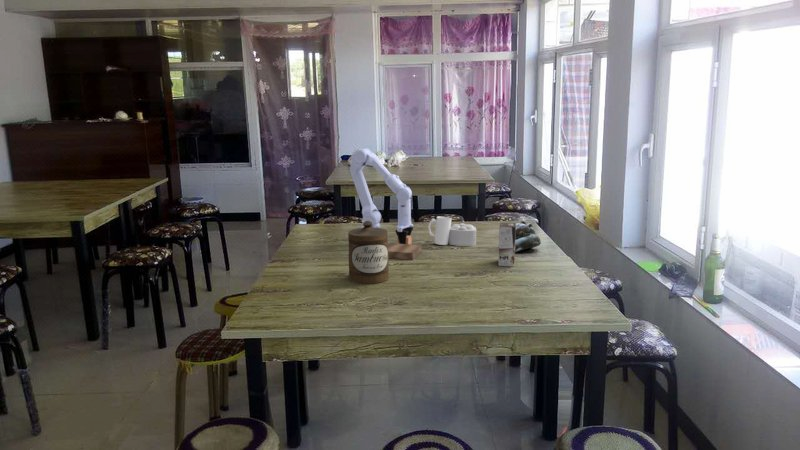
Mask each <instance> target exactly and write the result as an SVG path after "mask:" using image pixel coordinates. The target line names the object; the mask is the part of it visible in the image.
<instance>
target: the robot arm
mask: <svg viewBox="0 0 800 450" xmlns="http://www.w3.org/2000/svg"><path fill="white" fill-rule="evenodd" d="M350 158H351V161H350V166H349V171H350V176H351V178H352V180H353V184H354V186H355V189H356V190H355V191H356V193H357V196H358V198H359V202H360V205H361V207H362V209H361V214H362V224H363V223H364V222H365V221H370V222H372V227H374V228H381V224H380V221H382V214H381V212H380V211H379V210H378V208H377V206H376V205H375V203H374V201H373V199H372V196H371V193H370V190H369V186H368V184H367V181H366V178H365V175H364V172H363V170H364V168H365V167H366V166H370V167H373V168H374V170H376V171H377V172H378V173H379V174H380V175H381V176H382V177H383V178H384V181H385V185H387V187H388V188H389V189H390V190H391V191H392V192H393V193H394V194H395V198H396V200H397V219H398V220H397V228H396V229H395V233H396V235H397V237H398V238H397V240H398V239H399V243H400V244H406V237H407V235H409V236H412V231H413V229H414V224H413V223H412V215H411V214H412V204H411V203H412V202H411V200H412V199H411V198H412V196H413V191H412V190H411V188H410V186H407V184H406V183H403V181H401V179H400V176H399V175H396V173H395V174H394V173H391V172H390V171H389V170H388V169H387V167H386V166H385V165H384V164H383V162H382V161H381V160H380V159H379V158H378V157H377V154H375V153H374V152H372V150H371V149H370V148H368V147H363V148H360V149H356V150H355V151H354V152H353V154H352V155H351V157H350ZM363 227H364V226H363V225H360V226H359V228H363Z"/></svg>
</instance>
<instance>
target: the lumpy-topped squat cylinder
mask: <svg viewBox="0 0 800 450" xmlns="http://www.w3.org/2000/svg"><path fill="white" fill-rule="evenodd" d="M448 245H451V246H456V247H475V246H477V227H476V226H473V224H469V223H468V224H465V223H463V222H461V223H459V224H458V223H454V224H453V225H452V224H451V227H450V233H449V239H448Z"/></svg>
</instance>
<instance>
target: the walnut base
mask: <svg viewBox="0 0 800 450" xmlns="http://www.w3.org/2000/svg"><path fill="white" fill-rule="evenodd" d="M422 253H423V245H422V244H421V245H419V244H412V245H410V244H398V243H393V242H391V243H390V244H388V259H396V260H408V261H414V260H415V259H416V258H417V257H418V256H419V255H421V254H422Z"/></svg>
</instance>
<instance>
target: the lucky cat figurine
mask: <svg viewBox="0 0 800 450" xmlns="http://www.w3.org/2000/svg"><path fill="white" fill-rule="evenodd" d="M541 244H542V241H541V239H540V237H539V236H538V235H537V234H536V231H535V229H534V227H533V224H532V223H531V222H529V223H526V222H525V221H523V220H522V221H520V222H516V238H515V254H516V253H518V252H520V251H523V250H528V249H534V248H537V247H539V246H540V245H541Z"/></svg>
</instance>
